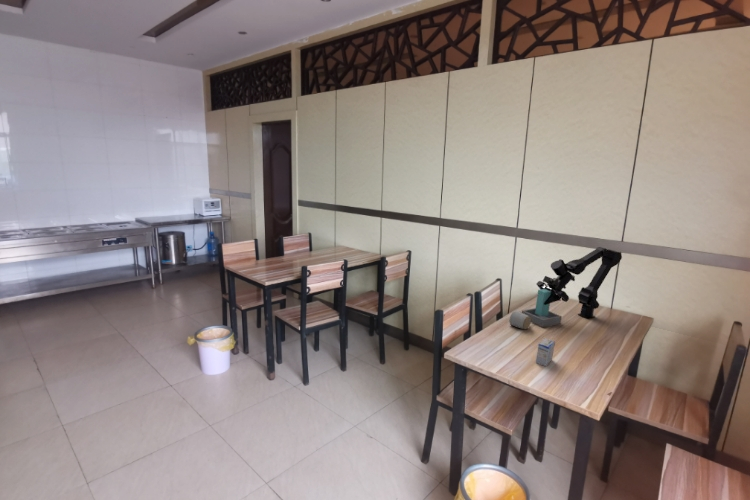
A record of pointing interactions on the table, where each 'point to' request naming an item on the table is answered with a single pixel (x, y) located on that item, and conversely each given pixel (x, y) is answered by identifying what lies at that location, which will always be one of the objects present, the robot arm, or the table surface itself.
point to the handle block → (542, 302)
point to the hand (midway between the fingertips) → (541, 302)
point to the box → (543, 318)
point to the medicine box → (545, 352)
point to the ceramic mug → (519, 320)
